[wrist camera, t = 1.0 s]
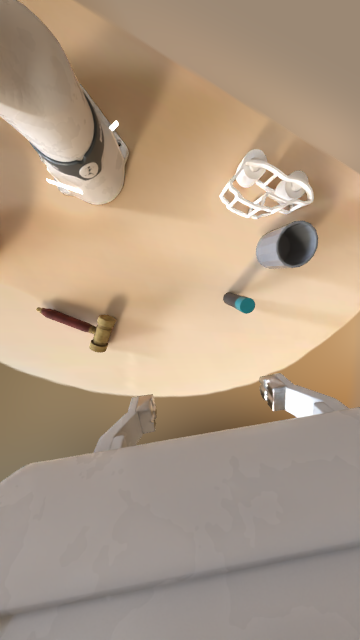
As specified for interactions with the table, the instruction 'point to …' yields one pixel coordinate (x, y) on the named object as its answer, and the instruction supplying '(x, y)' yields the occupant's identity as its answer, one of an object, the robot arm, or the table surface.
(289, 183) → the white cage
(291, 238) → the pen pot
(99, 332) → the gavel
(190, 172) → the table surface
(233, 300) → the marker pen
